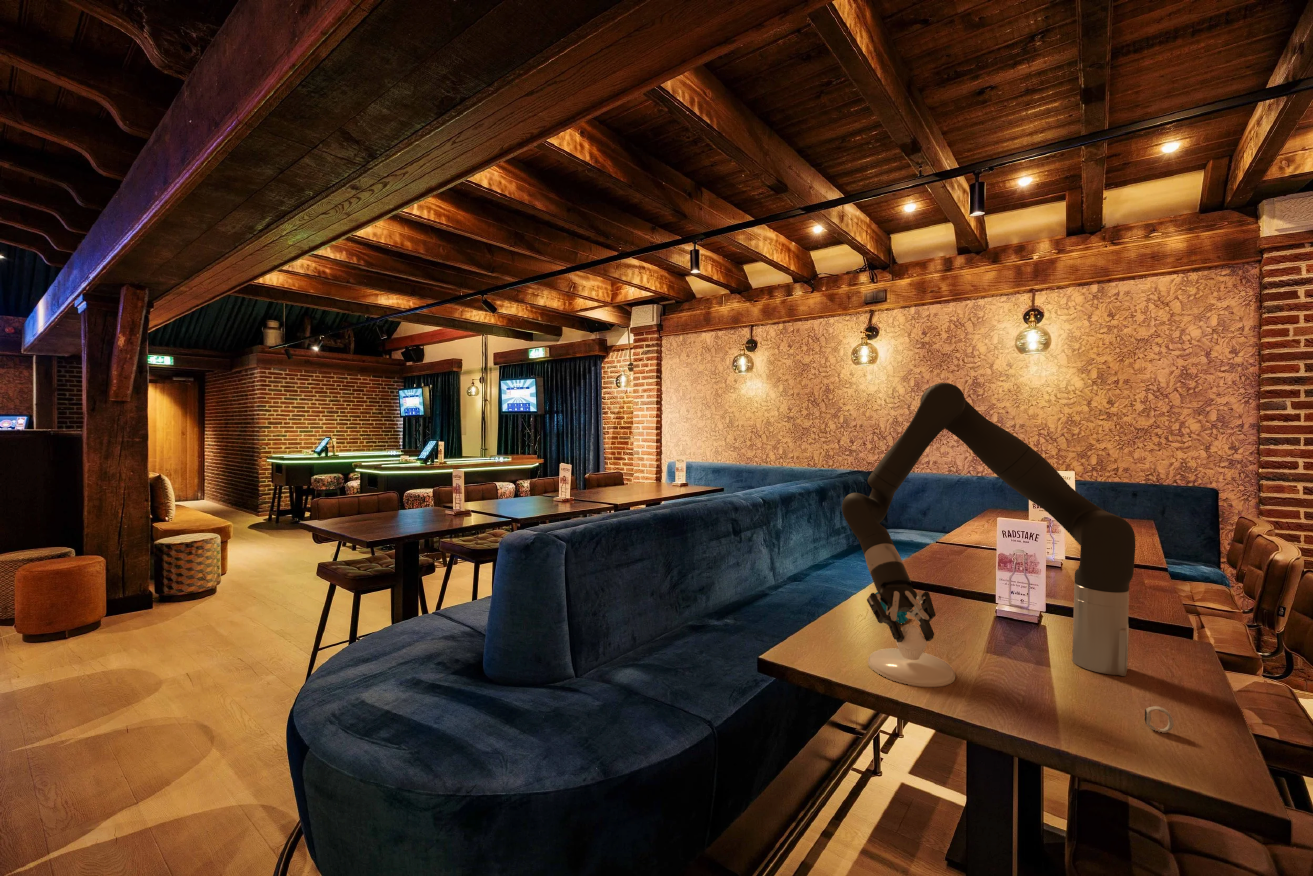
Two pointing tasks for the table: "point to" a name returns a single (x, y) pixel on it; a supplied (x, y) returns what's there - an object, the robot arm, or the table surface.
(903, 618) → the teal knobbly lump
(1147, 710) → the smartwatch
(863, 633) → the table surface
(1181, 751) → the table surface
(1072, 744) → the table surface
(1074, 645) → the robot arm
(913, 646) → the muffin
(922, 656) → the plate
